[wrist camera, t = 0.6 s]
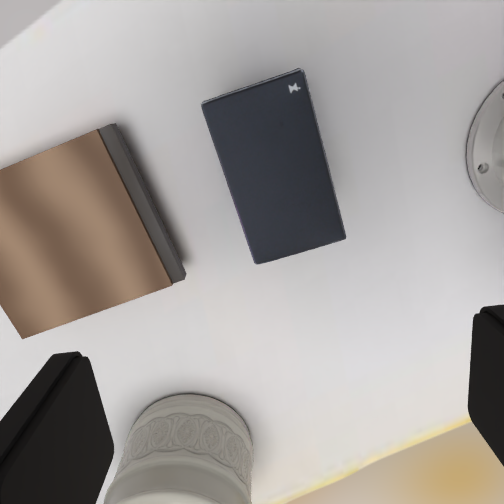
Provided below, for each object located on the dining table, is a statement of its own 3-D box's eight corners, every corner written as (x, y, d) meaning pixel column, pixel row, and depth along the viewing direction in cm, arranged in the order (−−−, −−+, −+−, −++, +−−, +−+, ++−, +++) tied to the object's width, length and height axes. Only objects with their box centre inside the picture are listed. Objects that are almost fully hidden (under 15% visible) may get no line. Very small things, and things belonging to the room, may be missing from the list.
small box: (211, 101, 33) (193, 100, 23) (290, 74, 33) (306, 60, 23) (252, 224, 37) (251, 269, 27) (325, 202, 36) (352, 239, 26)
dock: (125, 122, 34) (108, 124, 30) (190, 263, 38) (183, 281, 34) (-34, 188, 36) (-69, 198, 32) (44, 316, 40) (22, 339, 36)
